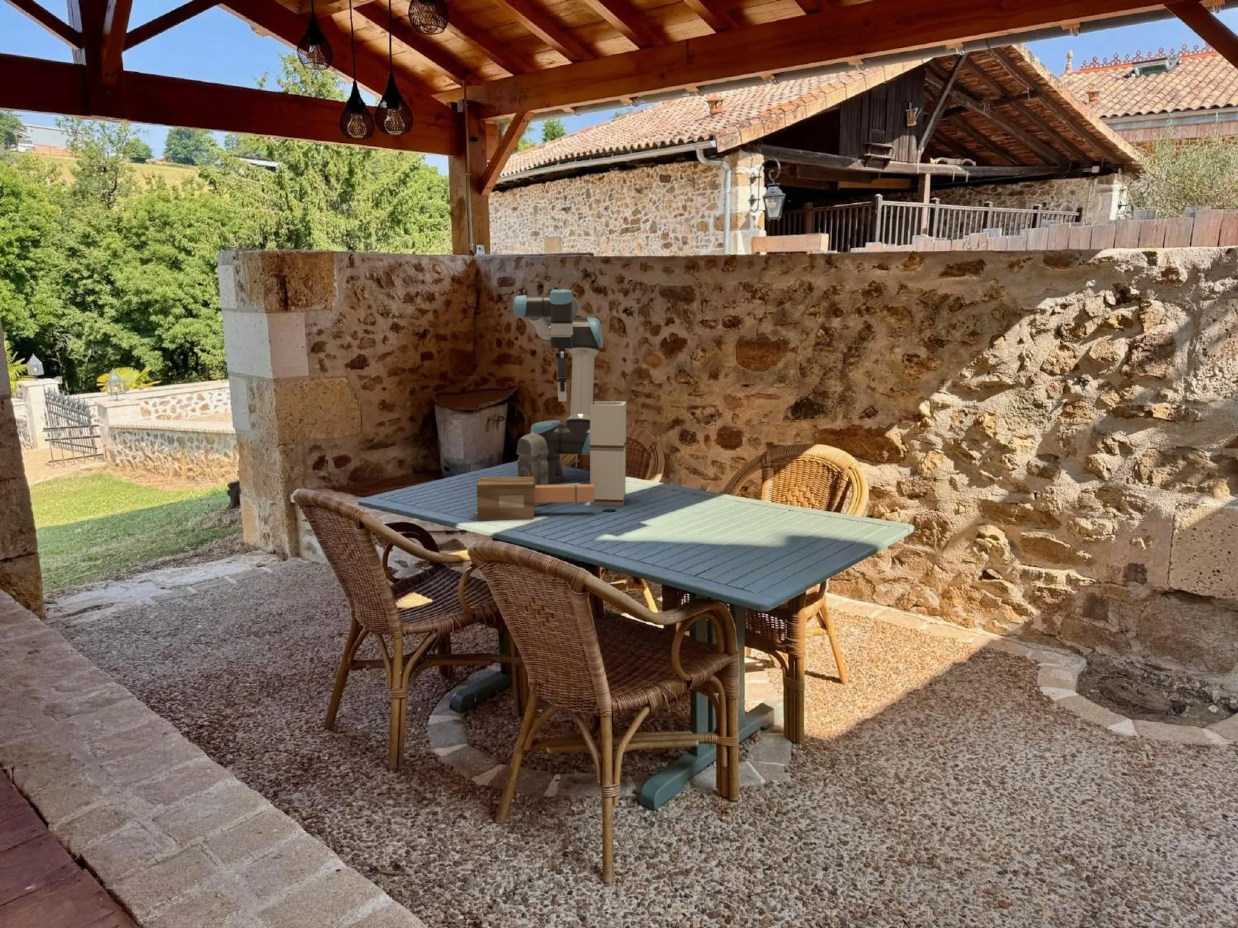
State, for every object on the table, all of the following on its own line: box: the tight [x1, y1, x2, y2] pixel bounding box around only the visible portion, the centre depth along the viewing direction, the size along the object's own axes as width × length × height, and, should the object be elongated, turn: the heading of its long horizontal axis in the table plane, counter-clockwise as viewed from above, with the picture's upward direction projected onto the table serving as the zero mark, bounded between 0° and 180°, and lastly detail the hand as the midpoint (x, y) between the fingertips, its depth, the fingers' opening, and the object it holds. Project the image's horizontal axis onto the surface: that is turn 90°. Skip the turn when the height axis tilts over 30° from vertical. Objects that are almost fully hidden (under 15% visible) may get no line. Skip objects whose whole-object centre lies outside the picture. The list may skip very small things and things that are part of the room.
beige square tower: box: [589, 400, 627, 507], centre depth 288 cm, size 11×11×35 cm
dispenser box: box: [476, 476, 535, 521], centre depth 272 cm, size 12×19×12 cm, turn 95°
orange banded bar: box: [533, 483, 594, 503], centre depth 273 cm, size 4×25×5 cm, turn 95°
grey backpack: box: [515, 431, 551, 507], centre depth 288 cm, size 10×14×25 cm
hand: (562, 398), depth 282 cm, fingers open, 13 cm apart
